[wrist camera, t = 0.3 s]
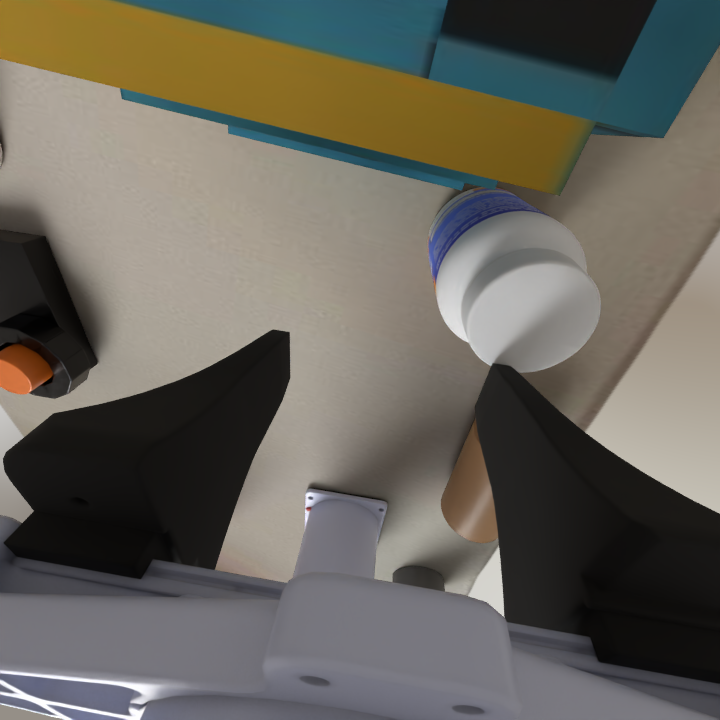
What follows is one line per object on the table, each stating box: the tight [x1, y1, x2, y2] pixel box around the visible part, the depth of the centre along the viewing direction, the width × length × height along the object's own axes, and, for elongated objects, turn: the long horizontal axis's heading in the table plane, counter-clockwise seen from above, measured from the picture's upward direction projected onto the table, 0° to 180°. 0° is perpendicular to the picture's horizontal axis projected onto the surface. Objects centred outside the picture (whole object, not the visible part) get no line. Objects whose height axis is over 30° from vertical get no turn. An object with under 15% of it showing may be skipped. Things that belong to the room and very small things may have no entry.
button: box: [0, 344, 53, 394], centre depth 23 cm, size 3×3×2 cm
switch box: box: [0, 230, 98, 398], centre depth 23 cm, size 11×9×4 cm
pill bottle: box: [427, 187, 601, 373], centre depth 15 cm, size 5×5×10 cm
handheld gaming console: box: [0, 0, 720, 196], centre depth 10 cm, size 10×4×15 cm, turn 79°
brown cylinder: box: [441, 419, 498, 543], centre depth 26 cm, size 5×5×9 cm
